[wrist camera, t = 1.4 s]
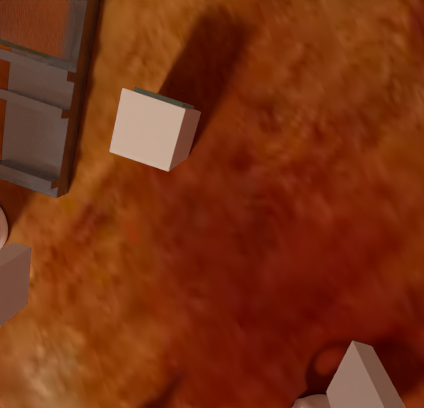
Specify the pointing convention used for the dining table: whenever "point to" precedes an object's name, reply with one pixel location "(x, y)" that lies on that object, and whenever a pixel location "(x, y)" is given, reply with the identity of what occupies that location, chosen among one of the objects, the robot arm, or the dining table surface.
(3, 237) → the jar
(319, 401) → the mug
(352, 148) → the dining table surface
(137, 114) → the block
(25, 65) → the rail
